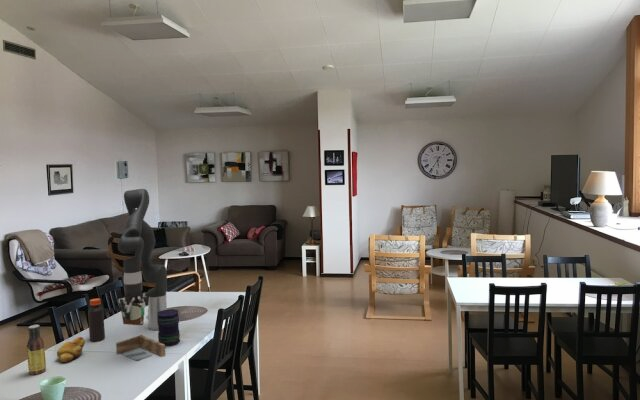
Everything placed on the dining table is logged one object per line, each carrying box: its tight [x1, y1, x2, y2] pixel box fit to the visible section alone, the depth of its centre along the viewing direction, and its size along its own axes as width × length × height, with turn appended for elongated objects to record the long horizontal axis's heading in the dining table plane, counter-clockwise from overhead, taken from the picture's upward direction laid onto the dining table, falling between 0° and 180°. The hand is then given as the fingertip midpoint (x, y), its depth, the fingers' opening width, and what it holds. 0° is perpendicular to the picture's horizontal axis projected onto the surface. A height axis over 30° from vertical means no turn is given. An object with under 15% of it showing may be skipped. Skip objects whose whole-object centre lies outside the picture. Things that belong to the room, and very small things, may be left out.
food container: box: [120, 299, 147, 327], centre depth 211 cm, size 12×6×10 cm, turn 73°
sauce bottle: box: [26, 324, 47, 376], centre depth 194 cm, size 7×6×20 cm
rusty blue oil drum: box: [157, 308, 181, 348], centre depth 225 cm, size 10×10×15 cm
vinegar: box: [87, 298, 106, 343], centre depth 231 cm, size 7×7×20 cm
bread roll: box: [56, 336, 86, 363], centre depth 209 cm, size 13×10×8 cm
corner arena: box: [115, 334, 166, 362], centre depth 211 cm, size 20×12×5 cm, turn 51°
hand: (134, 318), depth 210 cm, fingers closed on food container, 6 cm apart
